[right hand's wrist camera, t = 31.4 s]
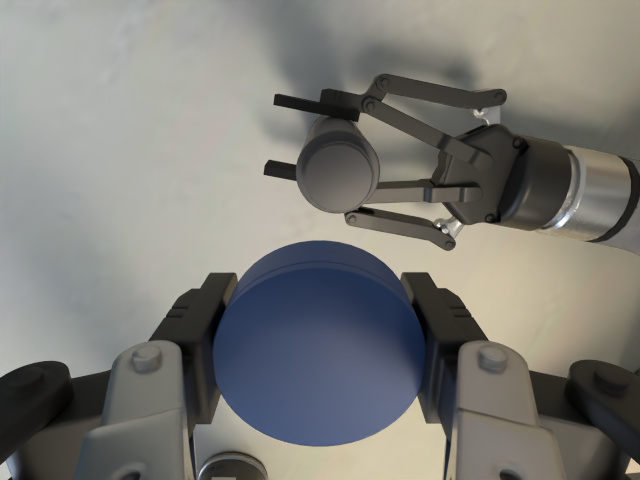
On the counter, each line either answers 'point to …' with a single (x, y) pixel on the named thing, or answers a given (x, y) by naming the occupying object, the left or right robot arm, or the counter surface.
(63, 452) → the right robot arm
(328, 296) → the lid
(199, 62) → the counter surface
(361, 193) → the grey cylinder
